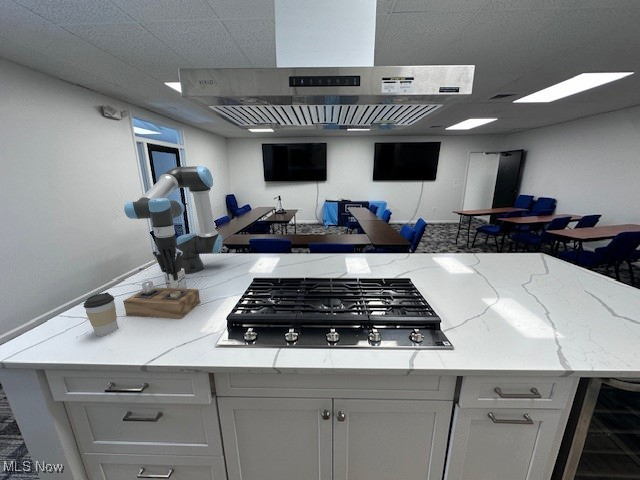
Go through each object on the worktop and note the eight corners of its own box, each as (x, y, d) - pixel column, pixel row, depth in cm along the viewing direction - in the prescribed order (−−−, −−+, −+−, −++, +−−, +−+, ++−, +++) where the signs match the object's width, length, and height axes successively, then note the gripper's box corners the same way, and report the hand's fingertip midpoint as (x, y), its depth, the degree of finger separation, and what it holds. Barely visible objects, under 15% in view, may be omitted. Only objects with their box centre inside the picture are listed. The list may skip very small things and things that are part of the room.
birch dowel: (176, 304, 115) (174, 290, 114) (184, 305, 115) (182, 291, 113) (170, 309, 112) (168, 294, 110) (178, 309, 111) (176, 295, 109)
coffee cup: (97, 340, 93) (87, 304, 89) (87, 333, 97) (77, 298, 93) (125, 327, 100) (117, 293, 96) (114, 321, 104) (106, 289, 101)
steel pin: (149, 295, 116) (146, 281, 114) (157, 295, 116) (154, 281, 114) (142, 299, 112) (139, 284, 110) (150, 299, 112) (147, 285, 110)
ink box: (175, 295, 127) (172, 274, 124) (167, 295, 128) (163, 273, 125) (187, 288, 135) (184, 268, 132) (179, 287, 136) (176, 267, 133)
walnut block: (151, 300, 123) (148, 286, 121) (200, 302, 120) (198, 288, 118) (126, 315, 109) (122, 300, 107) (181, 318, 106) (178, 302, 104)
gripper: (144, 237, 102) (155, 289, 108) (173, 238, 101) (182, 291, 107) (157, 233, 109) (167, 282, 116) (185, 233, 108) (193, 283, 114)
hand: (174, 286), depth 111 cm, fingers closed
